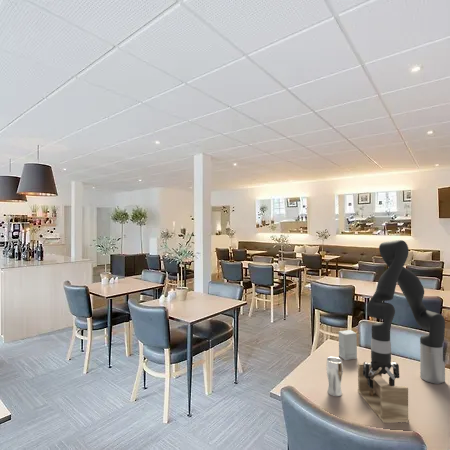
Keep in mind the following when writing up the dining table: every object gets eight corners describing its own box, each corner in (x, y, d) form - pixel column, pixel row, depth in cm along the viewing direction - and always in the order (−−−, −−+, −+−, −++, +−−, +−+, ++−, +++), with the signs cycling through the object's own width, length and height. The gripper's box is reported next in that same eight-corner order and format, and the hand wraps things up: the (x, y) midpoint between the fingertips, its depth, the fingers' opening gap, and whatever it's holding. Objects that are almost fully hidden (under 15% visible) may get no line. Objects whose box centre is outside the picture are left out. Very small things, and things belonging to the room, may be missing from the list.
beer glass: (329, 387, 142) (329, 355, 142) (345, 392, 138) (344, 359, 138) (324, 393, 137) (324, 360, 137) (339, 399, 132) (339, 364, 132)
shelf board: (367, 383, 135) (367, 372, 135) (376, 383, 135) (376, 372, 135) (386, 405, 119) (386, 392, 119) (397, 404, 119) (397, 392, 119)
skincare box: (350, 354, 177) (350, 329, 177) (357, 359, 171) (357, 332, 171) (338, 356, 175) (338, 330, 175) (344, 360, 169) (344, 334, 169)
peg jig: (357, 391, 138) (357, 362, 138) (379, 391, 138) (379, 362, 138) (383, 422, 116) (383, 389, 116) (409, 422, 116) (408, 388, 116)
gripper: (392, 345, 131) (392, 382, 131) (360, 345, 131) (360, 383, 131) (402, 352, 124) (403, 392, 124) (368, 353, 123) (368, 392, 123)
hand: (381, 387), depth 127 cm, fingers open, 8 cm apart
